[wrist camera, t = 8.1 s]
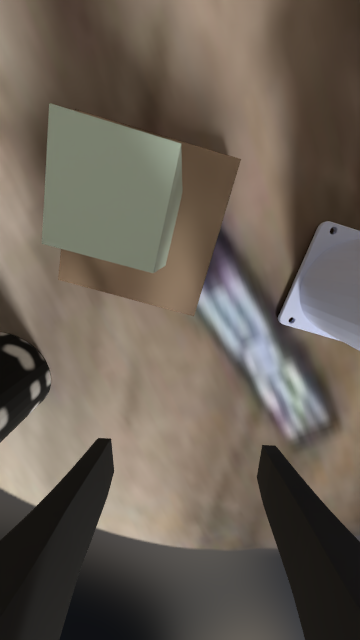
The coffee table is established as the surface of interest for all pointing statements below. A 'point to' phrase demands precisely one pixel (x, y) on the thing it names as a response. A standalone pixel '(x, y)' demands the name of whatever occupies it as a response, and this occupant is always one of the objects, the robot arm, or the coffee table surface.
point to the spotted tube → (20, 381)
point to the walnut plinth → (186, 245)
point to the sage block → (110, 190)
